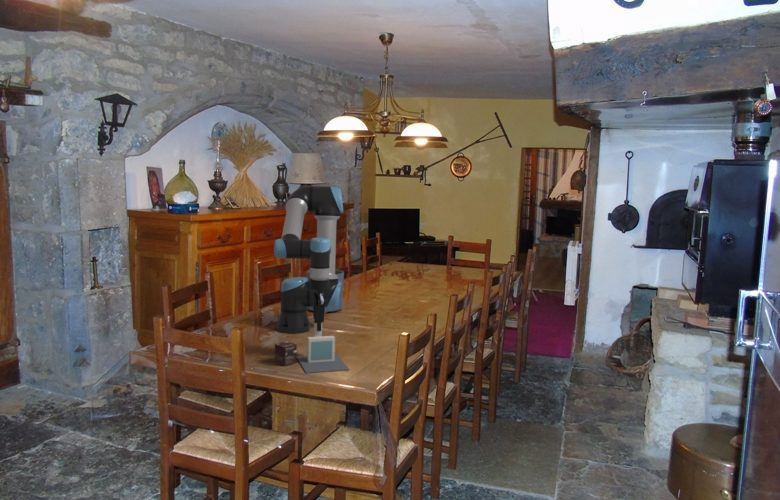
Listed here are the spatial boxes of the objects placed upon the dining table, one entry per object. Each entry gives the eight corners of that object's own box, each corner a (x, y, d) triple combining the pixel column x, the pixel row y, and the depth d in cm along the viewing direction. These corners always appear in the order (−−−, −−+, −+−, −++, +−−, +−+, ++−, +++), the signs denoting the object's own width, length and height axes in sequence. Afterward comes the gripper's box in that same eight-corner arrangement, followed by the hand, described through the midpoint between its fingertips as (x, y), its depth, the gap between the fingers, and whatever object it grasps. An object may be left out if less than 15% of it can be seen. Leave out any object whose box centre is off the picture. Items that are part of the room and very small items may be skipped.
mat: (297, 358, 239) (297, 357, 238) (337, 355, 244) (337, 354, 244) (306, 373, 222) (306, 372, 222) (349, 370, 227) (349, 369, 227)
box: (284, 366, 228) (284, 347, 227) (273, 362, 232) (274, 343, 231) (296, 363, 233) (297, 344, 232) (286, 359, 237) (286, 340, 236)
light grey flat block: (307, 360, 235) (307, 337, 234) (332, 358, 239) (333, 335, 237) (308, 362, 232) (309, 339, 231) (334, 360, 236) (335, 338, 234)
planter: (323, 316, 306) (324, 276, 303) (298, 309, 318) (298, 270, 316) (350, 310, 320) (351, 272, 317) (325, 303, 332) (326, 267, 330)
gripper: (306, 275, 241) (305, 334, 244) (313, 281, 229) (311, 343, 232) (325, 275, 244) (323, 333, 247) (333, 281, 231) (331, 342, 234)
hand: (318, 338), depth 239 cm, fingers closed
